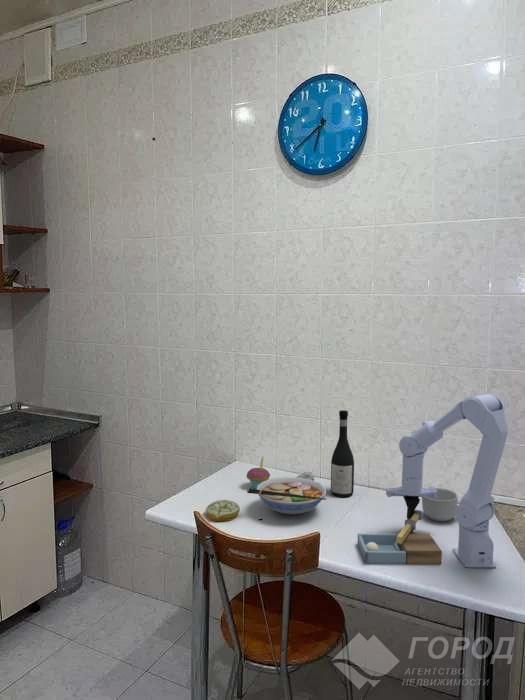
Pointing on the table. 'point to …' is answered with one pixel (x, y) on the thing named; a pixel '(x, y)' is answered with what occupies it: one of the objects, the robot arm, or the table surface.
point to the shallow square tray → (381, 549)
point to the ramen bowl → (290, 494)
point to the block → (420, 549)
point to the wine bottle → (342, 462)
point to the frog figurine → (306, 476)
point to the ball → (372, 546)
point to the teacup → (440, 504)
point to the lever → (409, 526)
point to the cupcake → (257, 475)
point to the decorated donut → (222, 510)
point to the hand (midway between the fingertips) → (410, 519)
